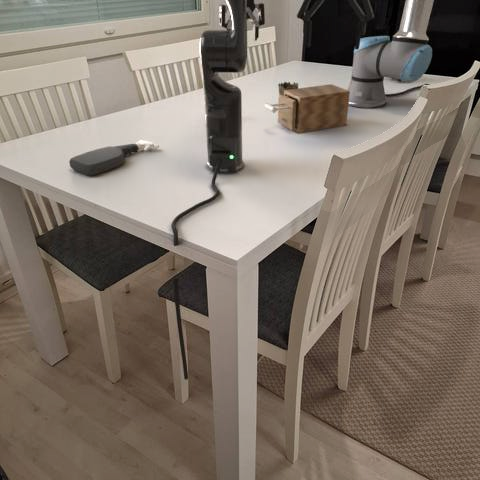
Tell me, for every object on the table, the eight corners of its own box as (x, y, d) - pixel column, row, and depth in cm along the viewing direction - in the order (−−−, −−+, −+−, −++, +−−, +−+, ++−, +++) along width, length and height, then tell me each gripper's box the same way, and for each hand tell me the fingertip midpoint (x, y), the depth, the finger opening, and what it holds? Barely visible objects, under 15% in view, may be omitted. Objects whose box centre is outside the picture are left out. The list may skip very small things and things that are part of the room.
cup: (274, 107, 166) (275, 85, 162) (282, 102, 172) (282, 80, 168) (293, 109, 163) (294, 87, 159) (300, 104, 169) (301, 82, 165)
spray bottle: (67, 168, 120) (139, 144, 136) (91, 178, 114) (163, 151, 130) (65, 157, 118) (137, 134, 134) (89, 167, 112) (162, 142, 128)
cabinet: (298, 133, 142) (300, 97, 136) (282, 123, 150) (283, 90, 144) (346, 125, 148) (349, 91, 142) (328, 116, 156) (331, 84, 150)
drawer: (274, 133, 139) (275, 103, 134) (261, 124, 146) (261, 96, 141) (336, 123, 146) (339, 95, 142) (321, 115, 154) (323, 88, 149)
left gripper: (222, -18, 127) (224, 44, 136) (268, -19, 131) (267, 41, 140) (214, -18, 133) (217, 41, 142) (259, -20, 137) (258, 38, 146)
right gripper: (287, -42, 113) (285, 48, 125) (389, -45, 105) (376, 51, 117) (295, -43, 119) (292, 43, 130) (392, -45, 111) (380, 46, 122)
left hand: (242, 41), depth 141 cm, fingers open, 8 cm apart
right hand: (332, 47), depth 123 cm, fingers open, 13 cm apart
